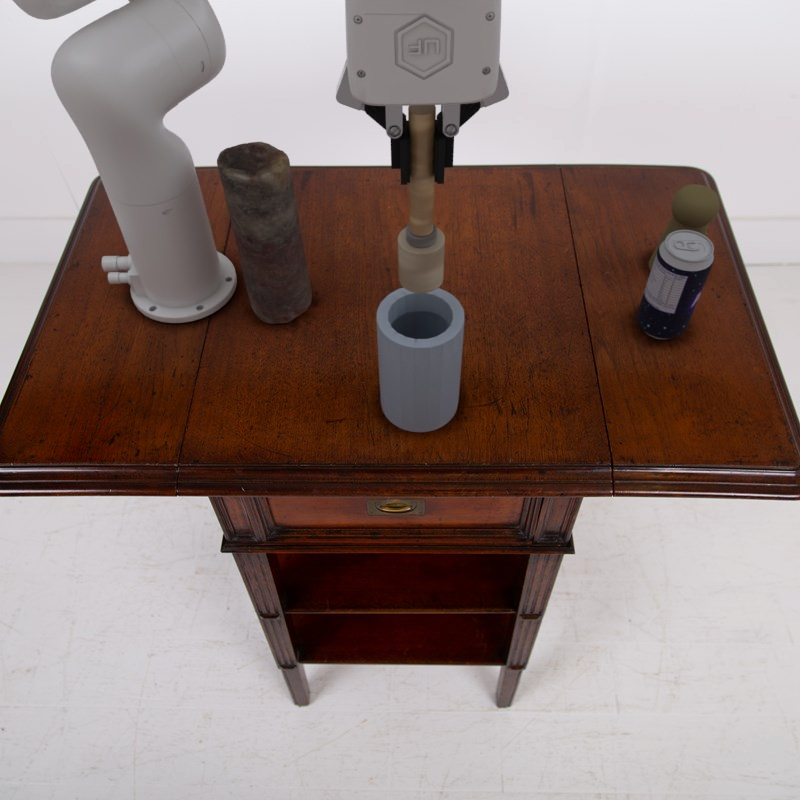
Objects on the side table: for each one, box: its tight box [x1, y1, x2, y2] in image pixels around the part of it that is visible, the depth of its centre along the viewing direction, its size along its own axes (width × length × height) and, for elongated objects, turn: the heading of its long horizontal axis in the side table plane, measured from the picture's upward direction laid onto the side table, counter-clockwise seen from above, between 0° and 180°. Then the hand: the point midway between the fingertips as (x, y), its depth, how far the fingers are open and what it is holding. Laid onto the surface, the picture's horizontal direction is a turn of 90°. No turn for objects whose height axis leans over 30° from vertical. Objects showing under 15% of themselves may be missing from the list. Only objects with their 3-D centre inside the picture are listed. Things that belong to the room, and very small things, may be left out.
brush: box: [397, 105, 446, 293], centre depth 61 cm, size 4×4×16 cm
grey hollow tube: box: [376, 287, 466, 433], centre depth 76 cm, size 8×8×13 cm
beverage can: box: [635, 230, 715, 340], centre depth 82 cm, size 6×6×12 cm
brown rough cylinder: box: [216, 141, 313, 325], centre depth 83 cm, size 8×7×20 cm
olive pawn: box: [648, 183, 721, 271], centre depth 89 cm, size 6×6×11 cm
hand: (421, 172), depth 59 cm, fingers closed on brush, 2 cm apart
